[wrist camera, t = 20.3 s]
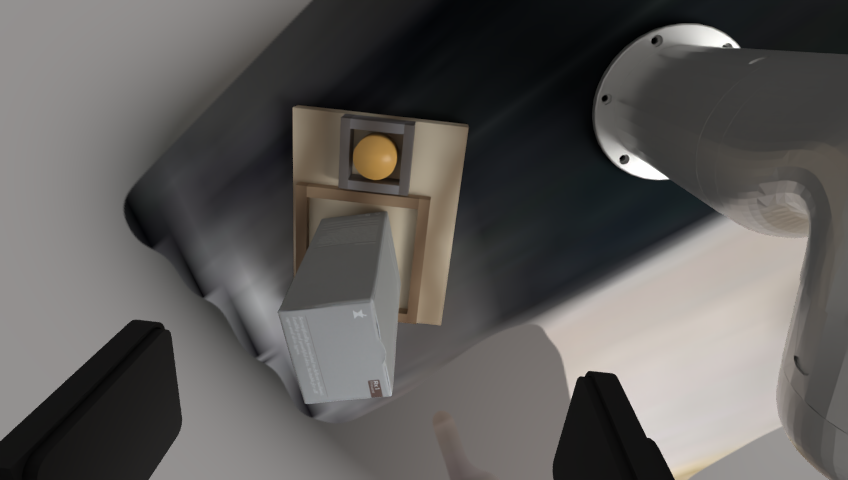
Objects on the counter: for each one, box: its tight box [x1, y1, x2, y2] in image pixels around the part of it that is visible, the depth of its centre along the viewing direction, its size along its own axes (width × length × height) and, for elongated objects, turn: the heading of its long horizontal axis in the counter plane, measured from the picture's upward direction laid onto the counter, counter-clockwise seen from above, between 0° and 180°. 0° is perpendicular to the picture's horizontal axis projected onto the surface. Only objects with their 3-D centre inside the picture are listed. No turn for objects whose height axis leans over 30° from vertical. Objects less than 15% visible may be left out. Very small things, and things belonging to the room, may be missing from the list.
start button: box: [353, 132, 398, 180], centre depth 41 cm, size 4×4×2 cm
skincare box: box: [278, 211, 401, 404], centre depth 39 cm, size 8×7×16 cm
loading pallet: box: [293, 105, 469, 325], centre depth 45 cm, size 15×20×4 cm
